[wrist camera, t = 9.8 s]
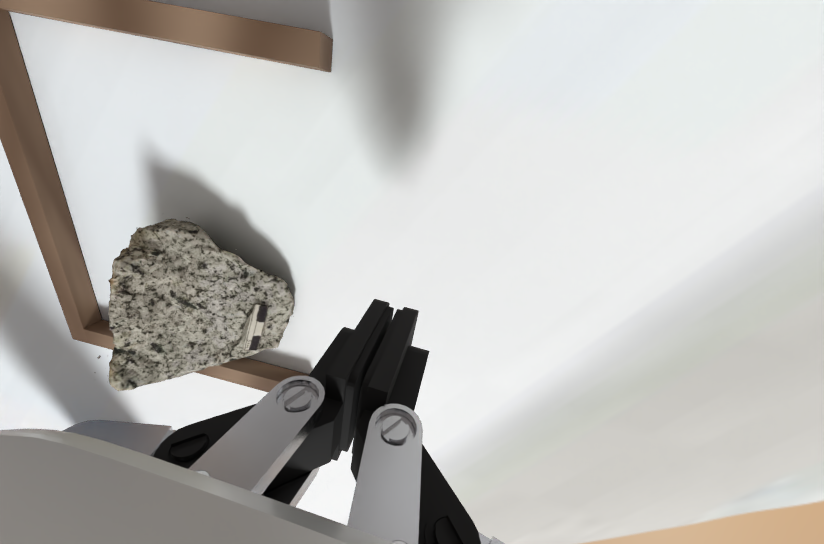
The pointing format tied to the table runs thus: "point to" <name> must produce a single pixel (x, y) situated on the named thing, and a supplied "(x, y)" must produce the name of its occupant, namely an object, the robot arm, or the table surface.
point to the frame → (34, 166)
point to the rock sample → (188, 306)
